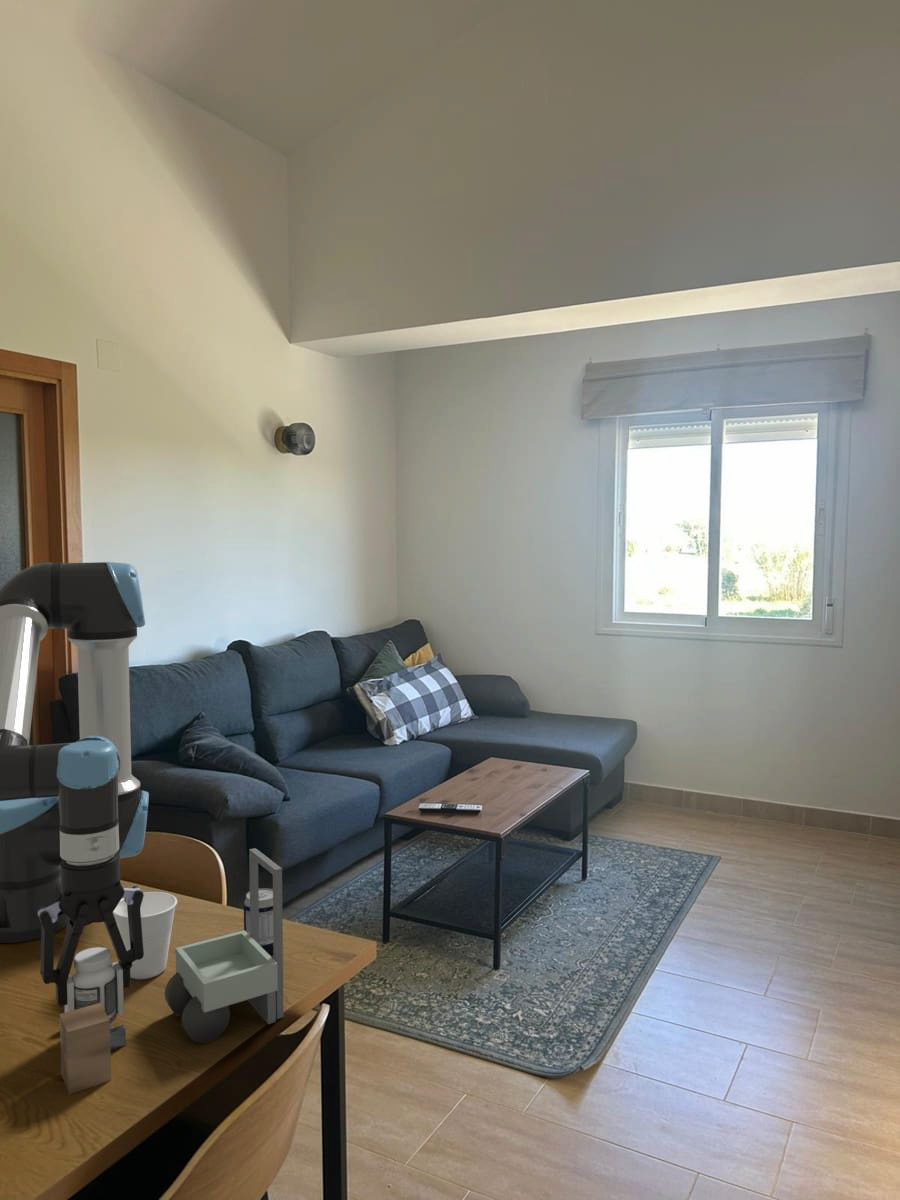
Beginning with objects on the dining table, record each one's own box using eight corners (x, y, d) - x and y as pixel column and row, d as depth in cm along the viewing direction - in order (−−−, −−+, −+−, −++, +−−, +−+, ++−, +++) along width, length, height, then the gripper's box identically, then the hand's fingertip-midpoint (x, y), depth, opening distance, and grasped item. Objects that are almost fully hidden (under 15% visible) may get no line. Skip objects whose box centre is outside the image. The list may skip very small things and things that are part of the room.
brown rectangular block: (61, 1073, 113) (59, 1014, 112) (102, 1061, 116) (100, 1002, 115) (69, 1094, 109) (67, 1032, 108) (111, 1080, 112) (109, 1019, 111)
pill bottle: (104, 1007, 126) (103, 941, 125) (124, 1022, 122) (123, 954, 121) (64, 1024, 122) (63, 955, 121) (84, 1040, 118) (82, 969, 117)
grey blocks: (65, 1027, 124) (64, 1011, 123) (109, 1015, 127) (109, 999, 127) (78, 1059, 116) (78, 1042, 116) (125, 1045, 119) (125, 1028, 119)
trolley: (162, 1011, 128) (159, 864, 127) (254, 984, 136) (252, 845, 134) (190, 1053, 118) (187, 893, 116) (287, 1021, 125) (285, 871, 124)
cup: (158, 989, 134) (156, 919, 133) (99, 983, 136) (98, 914, 135) (189, 959, 144) (188, 894, 143) (135, 953, 146) (133, 889, 145)
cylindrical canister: (287, 965, 142) (286, 893, 141) (259, 978, 138) (258, 904, 137) (265, 954, 146) (264, 884, 145) (237, 967, 141) (236, 895, 140)
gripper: (19, 880, 111) (25, 1053, 113) (167, 850, 122) (170, 1009, 124) (10, 861, 118) (16, 1025, 120) (152, 834, 128) (155, 986, 130)
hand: (94, 1017), depth 122 cm, fingers closed on pill bottle, 6 cm apart
